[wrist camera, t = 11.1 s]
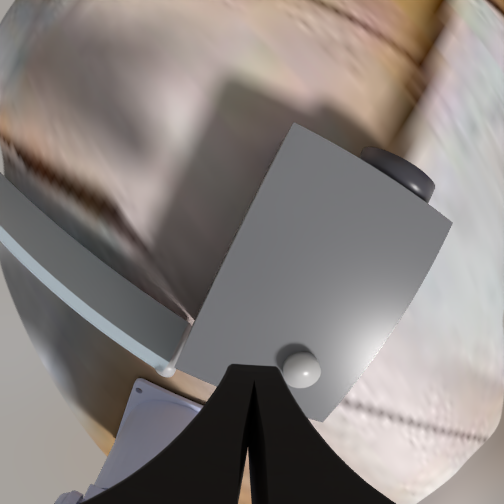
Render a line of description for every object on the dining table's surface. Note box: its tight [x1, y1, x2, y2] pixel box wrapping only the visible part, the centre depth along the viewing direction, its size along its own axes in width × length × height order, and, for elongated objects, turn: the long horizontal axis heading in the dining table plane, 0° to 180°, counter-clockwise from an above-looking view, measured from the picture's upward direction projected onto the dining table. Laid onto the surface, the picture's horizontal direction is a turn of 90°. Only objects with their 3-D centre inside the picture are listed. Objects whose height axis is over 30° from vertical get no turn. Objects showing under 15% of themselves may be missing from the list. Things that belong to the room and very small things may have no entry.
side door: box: [0, 173, 192, 377], centre depth 14 cm, size 18×1×4 cm, turn 55°
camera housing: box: [174, 122, 452, 422], centre depth 14 cm, size 13×8×6 cm, turn 154°
